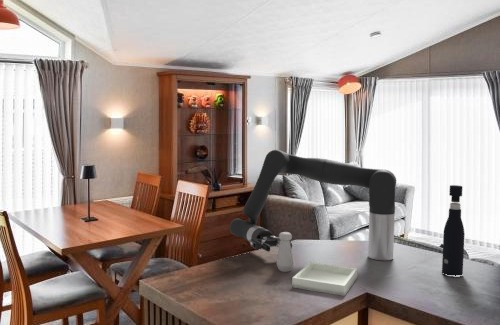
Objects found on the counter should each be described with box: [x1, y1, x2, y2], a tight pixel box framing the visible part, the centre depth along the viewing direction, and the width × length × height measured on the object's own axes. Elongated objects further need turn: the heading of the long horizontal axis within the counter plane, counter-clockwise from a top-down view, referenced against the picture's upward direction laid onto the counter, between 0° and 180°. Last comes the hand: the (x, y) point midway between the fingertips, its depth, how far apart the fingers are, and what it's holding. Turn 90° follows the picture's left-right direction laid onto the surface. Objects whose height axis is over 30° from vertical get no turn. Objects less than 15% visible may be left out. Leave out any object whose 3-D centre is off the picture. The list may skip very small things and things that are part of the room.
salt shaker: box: [276, 231, 294, 273], centre depth 155 cm, size 6×6×13 cm
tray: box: [291, 261, 358, 297], centre depth 143 cm, size 18×16×3 cm
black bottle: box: [441, 184, 465, 276], centre depth 151 cm, size 6×6×30 cm
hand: (280, 247), depth 158 cm, fingers open, 8 cm apart
